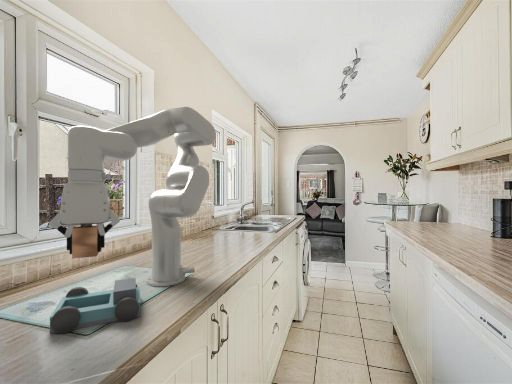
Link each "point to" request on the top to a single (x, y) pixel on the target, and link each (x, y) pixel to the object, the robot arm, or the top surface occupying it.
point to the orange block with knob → (84, 241)
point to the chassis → (96, 307)
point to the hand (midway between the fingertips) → (86, 251)
